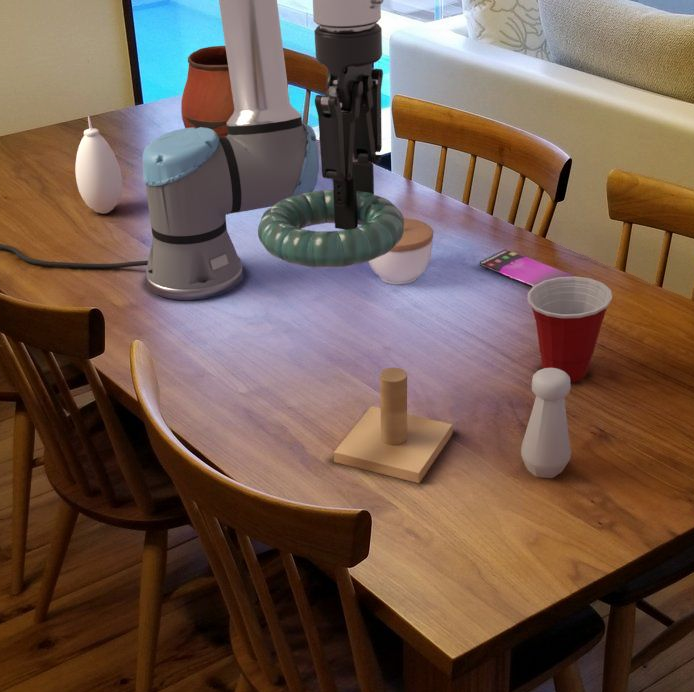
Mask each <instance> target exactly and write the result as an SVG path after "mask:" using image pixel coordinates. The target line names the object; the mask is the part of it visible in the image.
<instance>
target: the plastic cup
mask: <svg viewBox="0 0 694 692" xmlns="http://www.w3.org/2000/svg"><path fill="white" fill-rule="evenodd" d="M575 276H576V275H575ZM575 276H574V277H558V278H554V279H549V280H545V281H543V282H541V283H539V284H537V285H535V286H533V287H532V286H531V288H530V290H529V291H528V292H527V293H526V295H527V296H526V297H527V303H528V305H529V306H530V307H531V309H532V313H533V315H534V320H535V324H536V331H537V339H538V347H539V353H540V358H541V359H540V360H541V367H542V368H541V369H544V368H557V369H560V370H562V371H564V372H566V373H567V374H568V376H569V377H570V384H571V383H576V382H579V381H581V380H583V379H584V378H585V376H586V374H587V372H588V370H589V367H590V364H591V360H592V357H593V355H594V352H595V349H596V345H597V343H598V339H599V338H598V337H599V335H600V330H601V327H602V324H603V320H604V319H605V315H606V312H607V308H608V306H609V305H610V303H611V302H612V299H613V293H612V290H611V288H610V287H608V286H607V285H606V284H605V283H603V282H601V281H598V280H595V279H593V278H590V277H582V276H577V277H575Z"/></svg>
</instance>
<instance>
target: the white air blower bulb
mask: <svg viewBox="0 0 694 692" xmlns="http://www.w3.org/2000/svg"><path fill="white" fill-rule="evenodd" d="M87 120H88V127H89V128H87V129H85V130H84V131H83V136H82V138H81V140H80V143H79V145H78V148H77V151H76V157H75V166H74V168H75V169H74V171H75V172H74V173H75V180H76V181H75V182H76V186H77V190H78V192H79V195H80V197H81V198H82V200H83V202H84V203H85V204H86V206H87V207H88V208H89V209H92V210H93V211H94V212H96V213H99V214H101V215H102V214H108V213H110V212H112V211H113V210H114V209H115V207H116V206H118V204H119V203H120V200H121V197H122V196H121V195H122V192H123V178H122V173H121V168H120V164H119V162H118V160H117V157H116V154H115V153H114V151H113V149H112V147H111V146H110V143H108V141H107V140H106V139H105V138H104V137H103V136H102V135H101V134H100V130H99V129H98V128H93V126H92V122H91V121H92V120H91V117H90V115H87Z"/></svg>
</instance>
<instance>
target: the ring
mask: <svg viewBox="0 0 694 692" xmlns="http://www.w3.org/2000/svg"><path fill="white" fill-rule="evenodd" d="M356 192H357V220H358V227H357V228H352V229H347V230H344V229H340V230H330V231H329V230H327V231H326V230H325V231H320V230H319V231H317V230H316V231H315V230H309V229H304V228H307V227H311V226H317V225H322V224H335V216H334V195H333V189H321V190H314V191H313V192H307V193H301V194H298V195H295V196H292V197H289V198H287V199H284V200H281V201H279V202H278V203H276V204H275V205H273V206H272V207H268V208H267V210H265V212H264V213H263V214H262V216H261V219H260V222H259V224H258V228H257V237H258V239H259V241H260V243H261V244H262V245H263V247H264V248H265V250H266V251H267V252H268V253H269V254H270V255H271V256H272V257H274V258H278V259H279V260H281V261H284V262H286V263H289V264H292V265H297V266H302V267H309V268H343V267H348V266H354V265H360V264H365V263H369V262H368V261H370V260H373V259H375V258H377V257H380V256H382V255H385V254H386V253H388V252H389V251H390V250H391V249H392V248H393V247H394V246H395V245H396V244H397V243H398V242H399V241H400V240H401V238H402V235H403V228H404V219H403V218H404V216H403V213H402V211H401V210H400V209H399V208H398V207H397V206H396V205H395V204H393V202H391V201H390V200H389V199H387V198H386V197H382V196H380V195H377V194H375V193H374V194H372V193H368V192H362V191H356Z"/></svg>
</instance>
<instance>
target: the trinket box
mask: <svg viewBox="0 0 694 692" xmlns="http://www.w3.org/2000/svg"><path fill="white" fill-rule="evenodd" d="M403 219H404V228H403V235H402V238H401V240H400V241H399V242H398V243H397V244H396V245H395V246H394V247H393V248H392V249H391V250H390V251H389V252H388V253H386V254H385V255H382V256H380V257H377V258H375V259H373V260H370V261H368V262H367V263H368V264H369V266H370V268H371V269H372V271H373V272H374V274H376V275H377V276H378V277H379V278H380V280H381V281H382V282H384V283H386V284H390V285H398V286H399V285H408V284H411V283H413V282H416V281H417V280H418V278H419V276H421V275H422V274H423V273H424V272H425V271H426V269H427V268H428V265H429V263H430V261H431V258H432V252H433V251H432V250H433V238H434V230H433V228H432V227H431V226H430V225H429V224H428V223H426V222H424V221H423V220H422V221H421V220H418V219H415V218H407V217H406V218H405V217H403Z"/></svg>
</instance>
